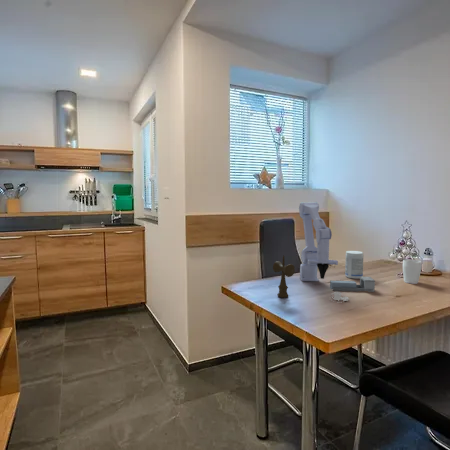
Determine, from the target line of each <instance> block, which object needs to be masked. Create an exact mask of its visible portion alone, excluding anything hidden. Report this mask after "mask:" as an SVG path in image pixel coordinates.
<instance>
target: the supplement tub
mask: <svg viewBox="0 0 450 450" xmlns="http://www.w3.org/2000/svg"><path fill="white" fill-rule="evenodd" d="M344 267H345V269H344V270H345V271H344V275H345V277H346V278H349V279H355V280H360V277H364V251H360V250H346V251H345V266H344Z"/></svg>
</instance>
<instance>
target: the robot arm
mask: <svg viewBox="0 0 450 450" xmlns="http://www.w3.org/2000/svg"><path fill="white" fill-rule="evenodd" d="M298 207H299V208H298V213H299V217H300V218H301V219H302V223H303V231H304V232H303V233H304V240H305V241H304V242H305V247H304V248H303V249H302V250H301V255H300V256H301V257H300V260H301V262H302V263H300V267H299V278H300V281H302V282H319V281H320V279H322V280H323V279H325V275H326V272H327V270H328V268H329V265H335V266H338V262H339V261H338V260H337V259H330V257H329V256H330V240H331V239H332V236H333V235H332V229H331V228H330V227H328V226H327V225H326V223H325V220H324V219H323V218H321V217H320V214H319V209H320V205H319V203H318V202H317V201H314V202H313V201H309V202H308V201H305V202H304V201H301V202H300V203H299V206H298ZM314 230H315V234H314ZM314 235H315V238H316V239H315V238H314ZM315 241H316V243H317V244H315ZM316 245H317V246H316ZM318 273H319V276H320V279H318Z"/></svg>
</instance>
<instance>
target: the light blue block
mask: <svg viewBox="0 0 450 450" xmlns="http://www.w3.org/2000/svg"><path fill="white" fill-rule="evenodd" d="M329 283H330V284H329V288H330V290H331V289H333V287H338V288H356V284H357V282H356V281H354V280H353V281H352V280H330V281H329Z"/></svg>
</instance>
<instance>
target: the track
mask: <svg viewBox="0 0 450 450" xmlns="http://www.w3.org/2000/svg"><path fill="white" fill-rule="evenodd" d="M375 285H376V280H375V279H374V278H372V277H371V276H363V277H360V278H359V284H357V283H356V288H338V287H333V290H332V291H334V292H358V291H368V292H367V293H370V292H371V293H375V288H376V287H375Z"/></svg>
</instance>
